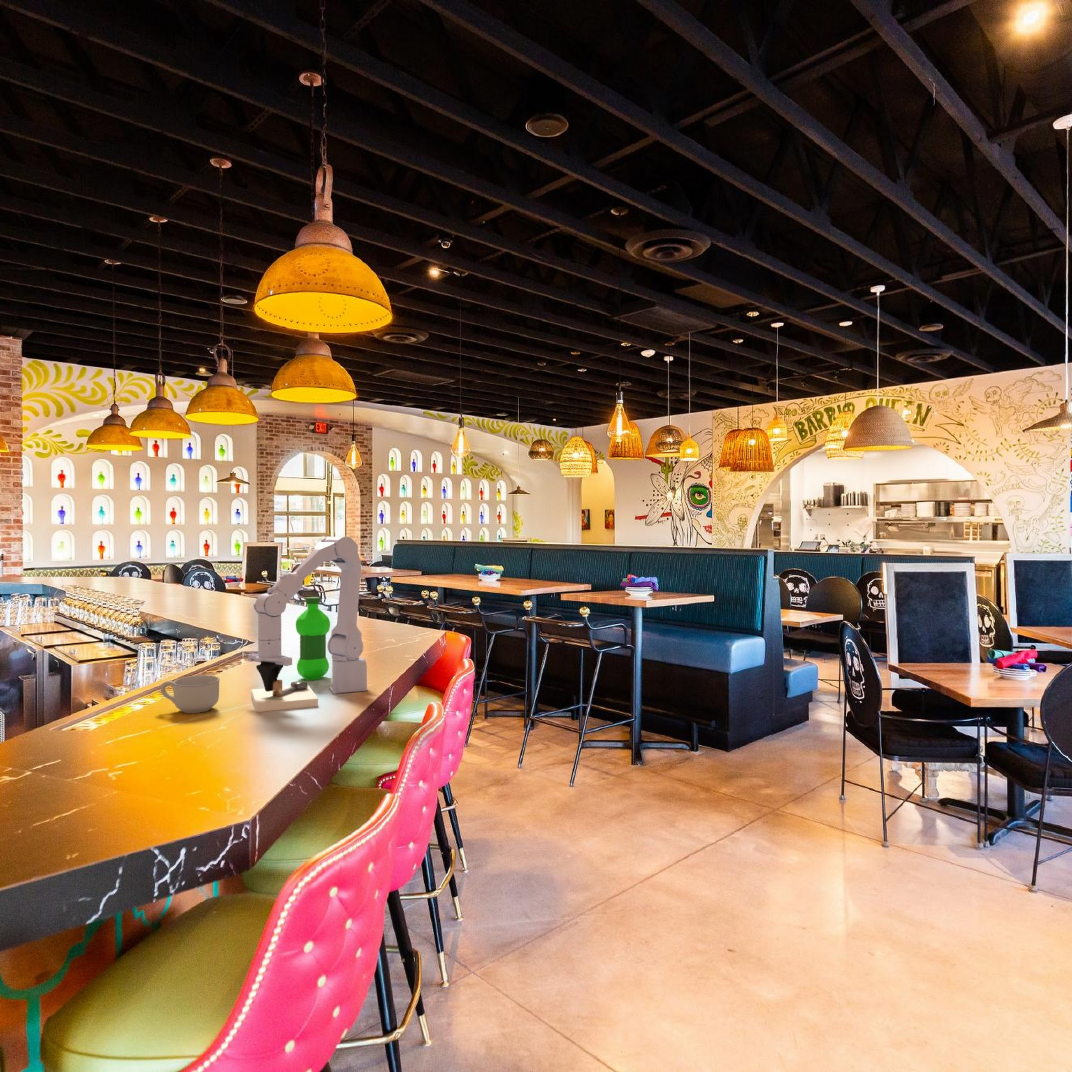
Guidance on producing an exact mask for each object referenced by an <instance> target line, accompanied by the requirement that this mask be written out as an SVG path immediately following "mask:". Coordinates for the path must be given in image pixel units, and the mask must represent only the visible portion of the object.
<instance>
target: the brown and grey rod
mask: <svg viewBox="0 0 1072 1072" xmlns="http://www.w3.org/2000/svg"><path fill="white" fill-rule="evenodd" d="M308 685H309V683H308V680H307V681H306V680H296V681H292V682H290V686H291V687H290V688H287V689H285V690H282V687H283V679H277V680H273V696H271V698H273V697H280V696H282V695H284V694H286V693H289V692H292V691H295V690H302V689H306V688H308Z"/></svg>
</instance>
